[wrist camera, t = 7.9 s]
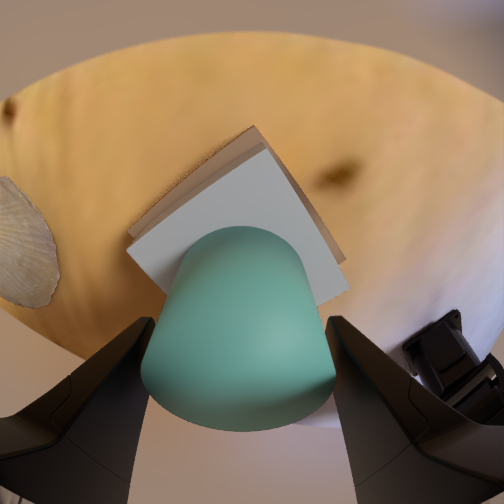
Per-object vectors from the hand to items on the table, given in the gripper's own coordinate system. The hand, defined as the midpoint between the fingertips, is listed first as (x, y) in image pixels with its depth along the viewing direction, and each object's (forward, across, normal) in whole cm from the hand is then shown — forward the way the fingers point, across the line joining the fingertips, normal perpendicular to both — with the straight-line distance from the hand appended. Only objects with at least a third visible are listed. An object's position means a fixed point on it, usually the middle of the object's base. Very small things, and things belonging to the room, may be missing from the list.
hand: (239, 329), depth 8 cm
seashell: (+8, +19, 0) cm, 20 cm away
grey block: (+6, 0, -1) cm, 6 cm away
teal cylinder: (+2, 0, 0) cm, 2 cm away
